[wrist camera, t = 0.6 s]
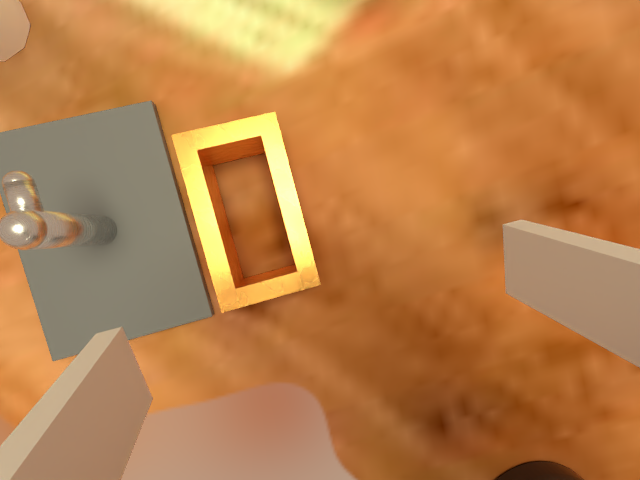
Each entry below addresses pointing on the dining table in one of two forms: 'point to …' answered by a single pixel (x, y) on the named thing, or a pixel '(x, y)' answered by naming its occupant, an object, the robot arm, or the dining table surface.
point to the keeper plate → (130, 217)
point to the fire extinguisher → (12, 28)
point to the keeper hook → (46, 220)
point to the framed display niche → (197, 169)
